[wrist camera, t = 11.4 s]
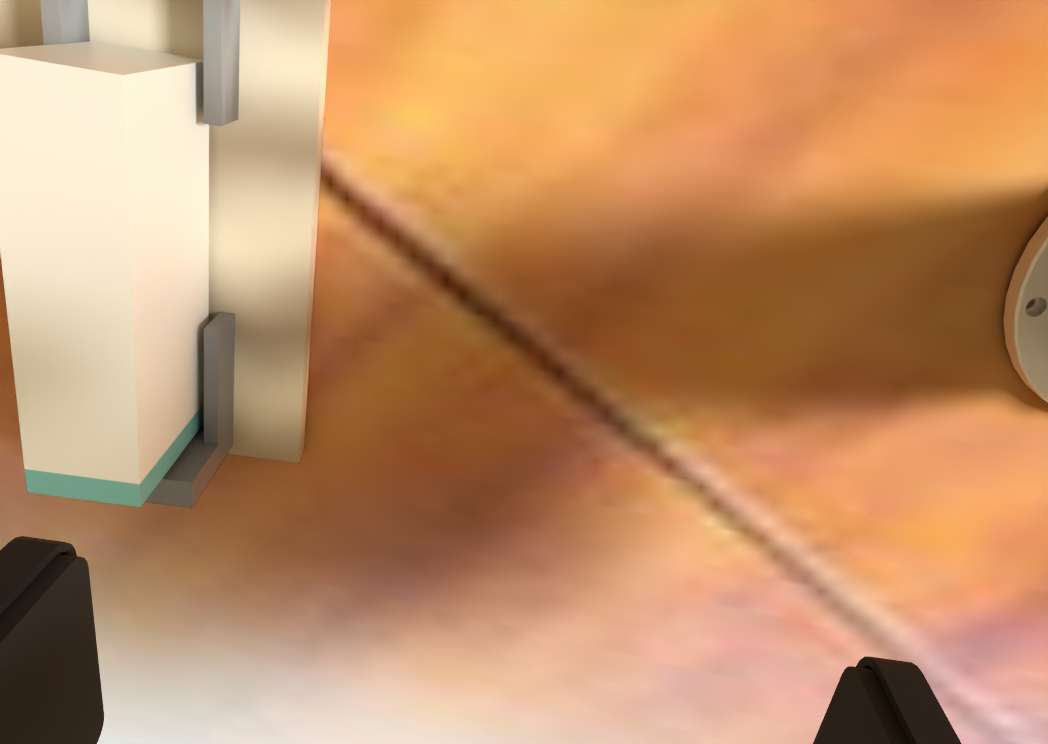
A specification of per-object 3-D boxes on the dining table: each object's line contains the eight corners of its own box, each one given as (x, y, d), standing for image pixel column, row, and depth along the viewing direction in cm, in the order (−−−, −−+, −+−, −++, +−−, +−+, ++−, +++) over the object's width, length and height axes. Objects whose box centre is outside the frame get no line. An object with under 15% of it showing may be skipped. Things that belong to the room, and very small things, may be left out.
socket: (89, 291, 33) (21, 337, 28) (235, 313, 33) (190, 361, 29) (98, 426, 36) (37, 487, 31) (232, 445, 36) (192, 508, 32)
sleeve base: (-41, -438, 24) (-111, -495, 22) (352, -353, 25) (332, -397, 22) (42, 416, 37) (4, 449, 34) (303, 452, 38) (287, 487, 35)
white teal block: (96, 40, 29) (-23, 50, 22) (209, 60, 29) (122, 75, 23) (116, 403, 35) (27, 492, 29) (208, 416, 35) (140, 507, 29)
